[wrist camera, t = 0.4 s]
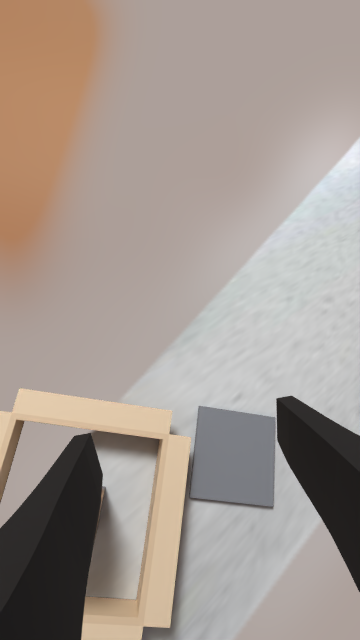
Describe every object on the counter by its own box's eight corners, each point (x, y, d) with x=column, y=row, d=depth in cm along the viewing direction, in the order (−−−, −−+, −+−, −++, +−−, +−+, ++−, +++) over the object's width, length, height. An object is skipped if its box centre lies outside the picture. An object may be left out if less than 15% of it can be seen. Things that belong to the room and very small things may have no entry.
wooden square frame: (161, 641, 30) (165, 663, 27) (-75, 629, 27) (-97, 652, 24) (188, 414, 37) (193, 414, 35) (4, 387, 35) (-6, 384, 32)
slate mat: (271, 505, 36) (273, 506, 35) (189, 496, 34) (190, 497, 34) (273, 417, 39) (275, 417, 39) (198, 406, 38) (199, 405, 37)
